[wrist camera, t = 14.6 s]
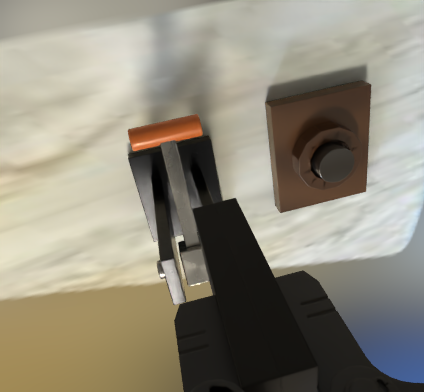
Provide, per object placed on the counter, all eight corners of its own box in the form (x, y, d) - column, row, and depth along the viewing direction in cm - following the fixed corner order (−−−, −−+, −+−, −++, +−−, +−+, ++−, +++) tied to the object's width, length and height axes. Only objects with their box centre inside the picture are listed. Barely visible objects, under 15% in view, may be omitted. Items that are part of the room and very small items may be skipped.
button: (311, 146, 37) (318, 153, 35) (346, 137, 37) (355, 144, 36) (312, 178, 39) (319, 186, 37) (345, 170, 39) (354, 177, 37)
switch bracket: (128, 153, 37) (127, 234, 25) (208, 135, 38) (244, 205, 26) (153, 235, 42) (162, 335, 30) (223, 218, 43) (260, 309, 31)
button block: (265, 102, 37) (277, 112, 34) (362, 80, 38) (382, 88, 35) (275, 205, 43) (286, 222, 40) (358, 184, 44) (375, 199, 41)
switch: (129, 128, 28) (126, 130, 25) (196, 113, 28) (199, 114, 26) (169, 277, 31) (169, 292, 29) (229, 262, 31) (234, 275, 29)
